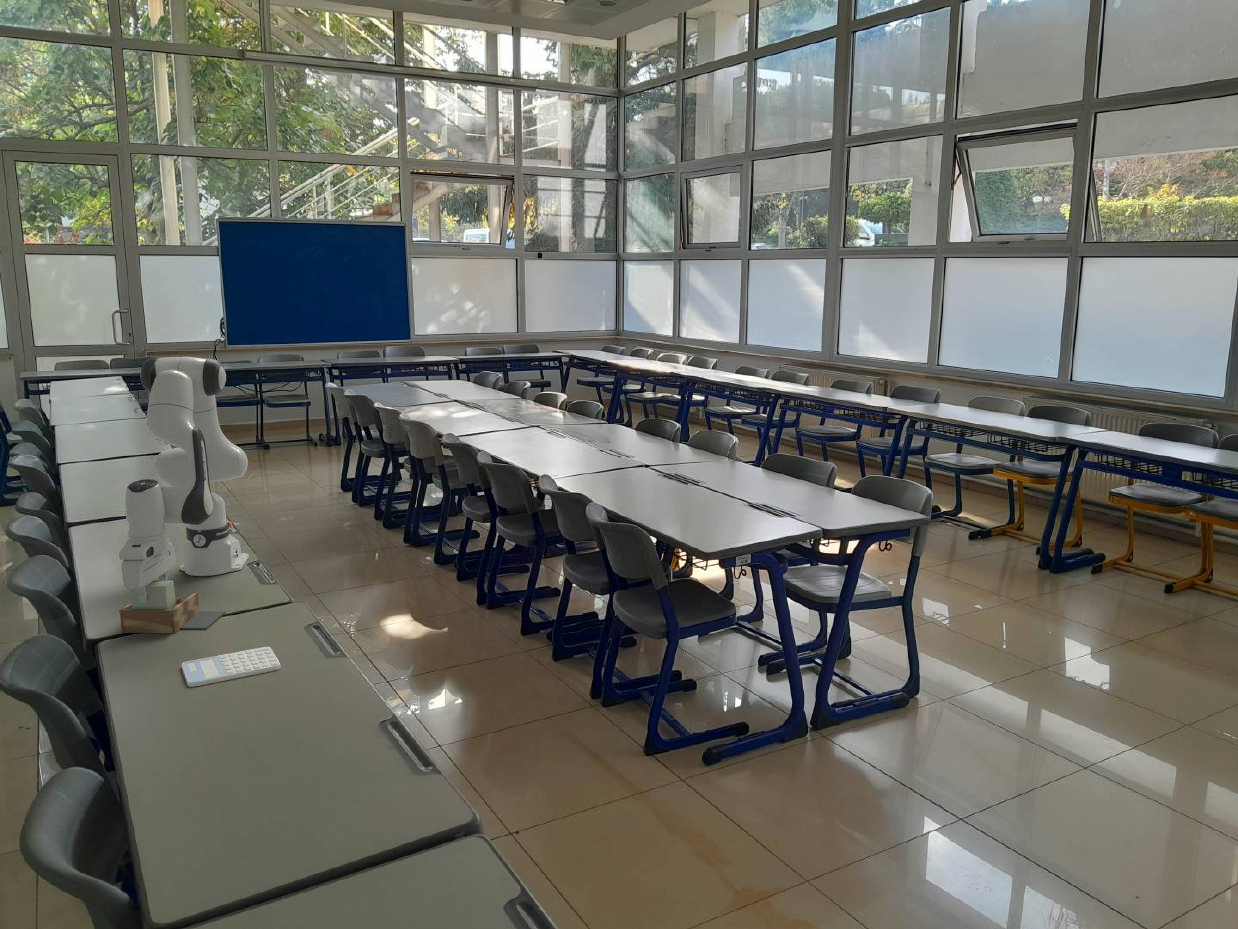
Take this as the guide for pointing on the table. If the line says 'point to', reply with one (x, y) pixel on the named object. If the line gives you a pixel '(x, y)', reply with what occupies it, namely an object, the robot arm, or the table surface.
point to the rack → (158, 617)
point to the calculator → (229, 666)
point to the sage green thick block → (156, 596)
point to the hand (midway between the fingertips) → (153, 595)
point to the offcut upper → (178, 600)
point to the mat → (203, 620)
